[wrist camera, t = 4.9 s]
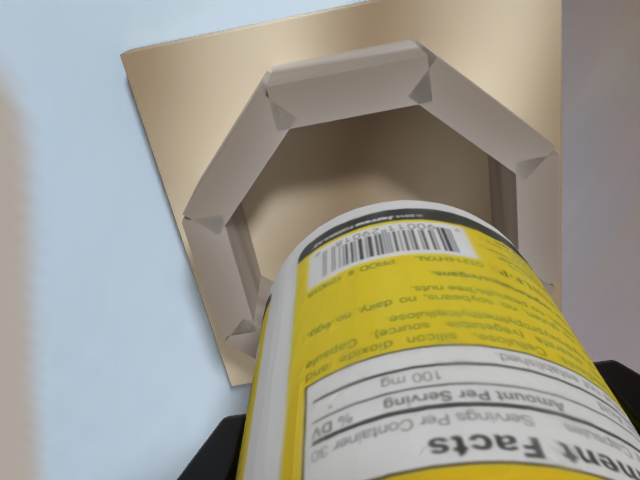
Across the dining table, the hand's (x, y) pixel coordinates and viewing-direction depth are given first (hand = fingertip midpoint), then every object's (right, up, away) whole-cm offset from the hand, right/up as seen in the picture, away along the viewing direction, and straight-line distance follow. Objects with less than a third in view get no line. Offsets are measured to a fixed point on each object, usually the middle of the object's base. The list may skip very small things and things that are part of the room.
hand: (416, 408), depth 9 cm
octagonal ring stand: (0, +4, +8) cm, 9 cm away
